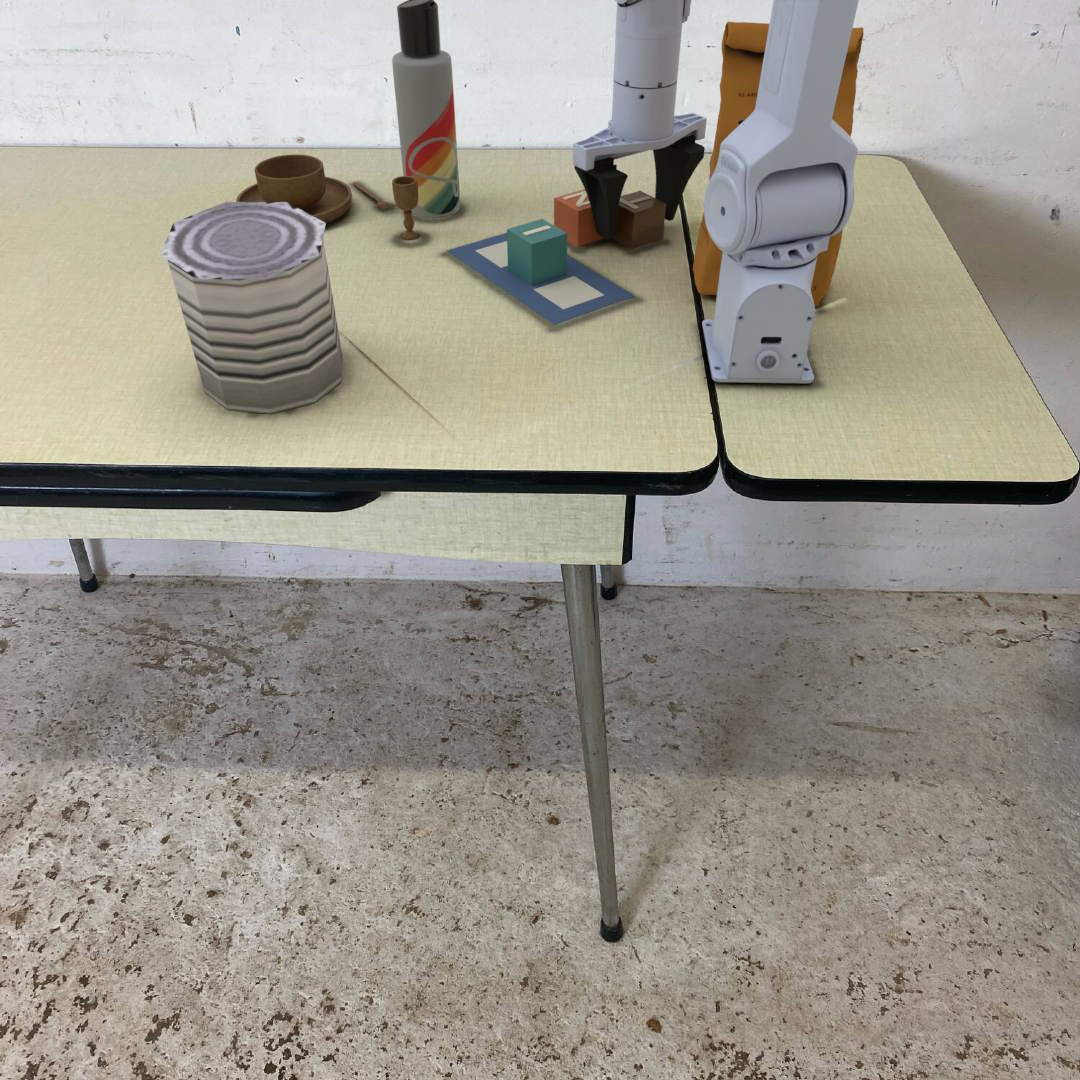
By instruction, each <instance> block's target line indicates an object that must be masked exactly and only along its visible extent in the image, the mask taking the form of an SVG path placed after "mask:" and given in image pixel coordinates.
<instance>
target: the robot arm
mask: <svg viewBox="0 0 1080 1080" xmlns="http://www.w3.org/2000/svg"><path fill="white" fill-rule="evenodd" d="M614 1H615V2H616V15H615V35H614V36H615V39H614V56H613V57H614V59H613V61H614V62H613V78H612V79H613V80H612V81H613V82H612V106H611V119H610V120H608V125H607V127H606V128H604V129H602V130H600V131H598V132H597V133H595V134H593V135H591V136H589V137H588V138H584V139H582V140H580V141H576V142H573V143H572V165H573V166H574V170H575V172H576V174H577V176H578V178H579V180H580V182H581V183H582V186H583V189H585V191H586V193H587V196H588V199H589V202H590V205H591V209H592V213H593V217H594V222H595V227H596V233H597V234H599V235H600V236H602V237H604V239H606V240H608V241H610V240H614V239H613V238H614V237H615V234H616V229H617V218H618V207H619V202H620V197H621V196H622V194H623V191H624V187H625V185H626V182H627V179H628V177H629V175H628V174H627V173H625V172H624V171H622V170H619V169H618V168H617V167H618V165H617V164H615V160H619V159H622V158H626V157H629V156H633V155H637V154H640V153H641V154H642V153H644V152H648V151H652V152H653V159H654V169H655V191H654V192H655V194H654V198H656V199H658V200H660V201H662V202H664V203H666V209H665V220H666V221H668V222H670V221H673V220H675V216H676V214H677V211H678V208H679V205H680V203H681V199H682V197H683V194H684V192H685V189H686V187H687V185H688V183H689V181H690V179H691V177H692V175H693V173H694V172H695V170H696V169H697V167H698V166H699V165H700V163H701V162H702V160H703V159H704V158H705V149H706V147H705V146H704V145H702V144H699V143H697V142H696V141H700V140H704V139H705V138H706V130H707V117H705V116H704V115H700V114H698V113H695V112H690V113H686V114H685V113H684V114H679V115H675V113H676V112H675V111H676V100H677V89H678V88H677V87H678V79H679V78H678V77H679V76H678V75H679V67H680V66H679V65H680V56H681V55H680V54H681V53H680V52H681V44H682V43H681V42H682V33H683V31H682V29H683V24H684V23H685V22H687V21H688V19H689V17H690V14H691V4H692V0H614ZM858 5H859V0H773V1H772V6H771V7H772V8H771V12H770V18H769V19H770V20H769V23H768V24H769V30H768V36H767V41H766V47H765V53H764V59H763V65H762V71H761V77H760V83H759V89H758V94H757V100H756V106H755V110H754V111H753V113H752V114H751V115H750V116H749V117H748V118H747V119H746V120H745V121H743V122H742V123H741V124H740V125H739V126H738V127H737V128H736V129H735V130H734V131H733V132H732V133H731V134H730V135H729V136H728V137H727V138H725V139H724V140H723V142H722V143H721V145H720V152H719V158H718V162H717V166H716V168H715V171H714V173H713V175H712V177H711V179H710V181H709V180H708V184H707V186H706V189H705V192H704V196H703V197H704V199H703V213H704V217H705V222H706V226H707V230H708V232H709V235H710V237H711V238H712V240H713V241H714V243H715V244H716V246H717V247H718V248H719V249H720V250H721V251H722V260H721V268H720V275H719V283H718V290H717V295H716V299H715V305H714V314H713V319H712V318H711V319H708V318H707V319H703V320H702V321H701V327H702V332H703V337H704V342H705V347H706V354H707V360H708V363H709V364H708V365H709V370H710V375H711V379H712V380H713V382H715V383H741V384H742V383H749V384H751V383H753V384H812V383H814V381H815V374H814V372H813V369H812V366H811V362H810V361H809V357H808V350H809V346H810V342H811V336H812V331H813V327H814V321H815V317H816V307H815V306H814V301H813V298H812V294H811V286H812V281H813V276H814V271H815V266H816V261H817V256H818V254H819V253H820V252H823V251H827V249H828V244H829V239H830V236H834V235H836V234H838V233H839V232H840V231H841V230H842V229H844V228H845V227H846V225H847V224H848V222H849V220H850V218H851V215H852V210H853V207H854V203H855V184H854V172H855V166H856V165H855V164H856V160H857V155H858V152H859V148H858V146H857V144H855V142H854V140H853V139H852V138H851V137H850V136H849V135H848V134H847V133H846V132H845V130H843V129H842V128H841V127H840V126H839V125H838V124H837V123H836V122H835V121H834V120H833V119H832V116H833V111H834V107H835V103H836V98H837V94H838V89H839V85H840V81H841V76H842V72H843V67H844V63H845V59H846V54H847V50H848V45H849V41H850V36H851V32H852V28H854V22H855V18H856V14H857V9H858ZM842 231H843V230H842Z"/></svg>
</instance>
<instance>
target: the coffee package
mask: <svg viewBox="0 0 1080 1080" xmlns="http://www.w3.org/2000/svg"><path fill="white" fill-rule="evenodd" d="M769 24H770V23H765V22H762V23H761V22H748V21H747V22H745V21H743V22H742V21H741V22H737V21H729V20H728V21H727V22H726V23H725V25H724V31H723V35H722V39H721V56H722V63H721V75H720V76H721V77H720V83H719V93H720V102H719V110H718V116H717V123H716V130H715V136H714V143H713V148H712V154H711V156H710V160H709V177H708V178H709V179H708V182H709V181H710V179H711V177H712V175H713V173H714V171H715V168H716V166H717V162H718V158H719V152H720V145H721V143H722V142H723V140H724V139H725V138H727V137H728V136H729V135H730V134H731V133H732V132H733V131H734V130H735V129H736V128H737V127H738V126H739V125H740V124H741V123H742V122H743V121H745V120H746V119H747V118H748V117H749V116H750V115H751V114H752V113H753V111H754V110H755V106H756V100H757V94H758V89H759V83H760V77H761V71H762V65H763V59H764V53H765V47H766V41H767V36H768V30H769ZM863 39H864V27H862V26H861V27H853V28H852V32H851V36H850V41H849V45H848V50H847V54H846V59H845V63H844V67H843V72H842V76H841V81H840V85H839V89H838V94H837V98H836V103H835V107H834V111H833V116H832V119H833V120H834V121H835V122H836V123H837V124H838V125H839V126H840V127H841V128H842V129H843V130H845V132H846V133H847V134H848V135H849V136H850V137H851V136H852V135H853V124H854V114H855V113H854V112H855V111H854V107H855V103H856V102H855V101H856V96H857V95H856V93H857V78H858V72H859V71H858V64H859V60H860V54H861V52H862V44H863ZM699 225H700V226H699V229H698V234H697V241H696V246H695V253H694V257H693V258H694V259H693V265H692V272H693V275H694V278H693V279H694V284H695V287H696V290H697V292H698V294H700V295H702V296H709V295H711V296H717V290H718V283H719V275H720V268H721V260H722V251H721V250H720V249H719V248H718V247H717V246H716V244H715V243H714V241H713V240H712V238H711V237H710V235H709V232H708V230H707V226H706V222H705V217H704V212H703V213H702V218H701V222H700V224H699ZM843 229H844V228H843ZM843 229H842V230H841V231H840V232H839V233H838V234H836V235H834V236H830V239H829V244H828V249H827V251H823V252H820V253H819V254H818V256H817V261H816V266H815V271H814V276H813V281H812V286H811V294H812V298H813V301H814V306H815V308H817V307H819V306H820V302H821V300H822V299H823V298H824V297H825V296H826V294H827V293H828V291H829V290H830V288H831V284H832V281H833V277H834V274H835V270H836V266H837V261H838V258H839V253H840V249H841V244H842V238H843V237H842V236H843Z"/></svg>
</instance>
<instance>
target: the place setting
mask: <svg viewBox="0 0 1080 1080" xmlns="http://www.w3.org/2000/svg"><path fill="white" fill-rule="evenodd" d="M324 167H325V166H324V163H323V161H322V160H320V159H319V158H318V157H316V156H313V155H307V154H295V153H294V154H283V155H282V154H281V155H277V156H276V155H275V156H273V157H269V158H266V159H264V160H262V161H260V162H259V163H257V165H255V167H254V175H255V179H256V183H254V184H252V185H250V186H248V187H246V188H245V189H244V190H242V191H241V192H240V193H239V194H238V196H237V197H236V200H235V202H288V203H289V204H291V205H293V206H295V207H297V208H299V209H301V210H302V211H304V212H306V213H308V214H310V215H312V216H314V217H315V218H317V219H319V220H321V221H323V222H325V223H326V225H328V224H330V223H332V222H334V221H335V220H337V219H339V218H340V217H342V216H343V215H344V214H345V213H346V212H347V211H348V210H349V208H350V206H351V204H352V201H353V193H352V189H351V187H350V186H349V185H348V184H347V183H345V182H344V181H341V180H340V179H337V178H333V177H330V176H326V174H325V168H324ZM353 185H354V187H356V188H357V189H359V190H360V191H361V192H363V193H364V194H366V195H367V196H369V197H370V198H372V199H373V200H375V201H376V202H377V203H376V206H377V207H378V208H380V209H388V208H394V207H397V208H398V209H399V210H401V211H403V216H404V218H403V221H402V225H403V227H404V228H405V232H403V233H401V234H400V235H399V238H400V239H401V240H403V241H408V242H409V241H416V240H418V239H419V238H421V234H420V233H419V232H417V231H416V232H415V231H414V227H415V221H414V219H413V215H412V211H411V210H412V209H414V208H415V207H416V206H417V204H418V184H417V179H416V178H415V177H412V176H403V175H401V176H396V177H394V178H393V179H392V180H391V187H392V194H393V200H394V203H395V204H394V203H389V202H387V201H383V200H382V199H381V198H380V197H378V196H377V195H375V194H374V193H373V192H372V191H370V190H369V189H367V188H366V187H364V186H363V185H361V184H359V183H358V182H353Z"/></svg>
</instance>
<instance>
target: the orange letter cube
mask: <svg viewBox="0 0 1080 1080" xmlns="http://www.w3.org/2000/svg"><path fill="white" fill-rule="evenodd" d="M553 225H554V226H556V227H557V228H559V229H561V230H562V231H564V232H566V233H567V243H570V244H572V245H573V246H575V247H577V248H578V247H582V246H585V245H588V244H591V243H594V242H598V241H601V240H604V239H605V238H604V237H602V236H600V235H599V234H597V233H596V227H595V222H594V217H593V213H592V209H591V205H590V202H589V199H588V196H587V193H586V191H585V188H583V189H581V190H577V191H574V192H571V193H570V192H569V193H566V194H563V195H559V196H555V197H554V198H553Z"/></svg>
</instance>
